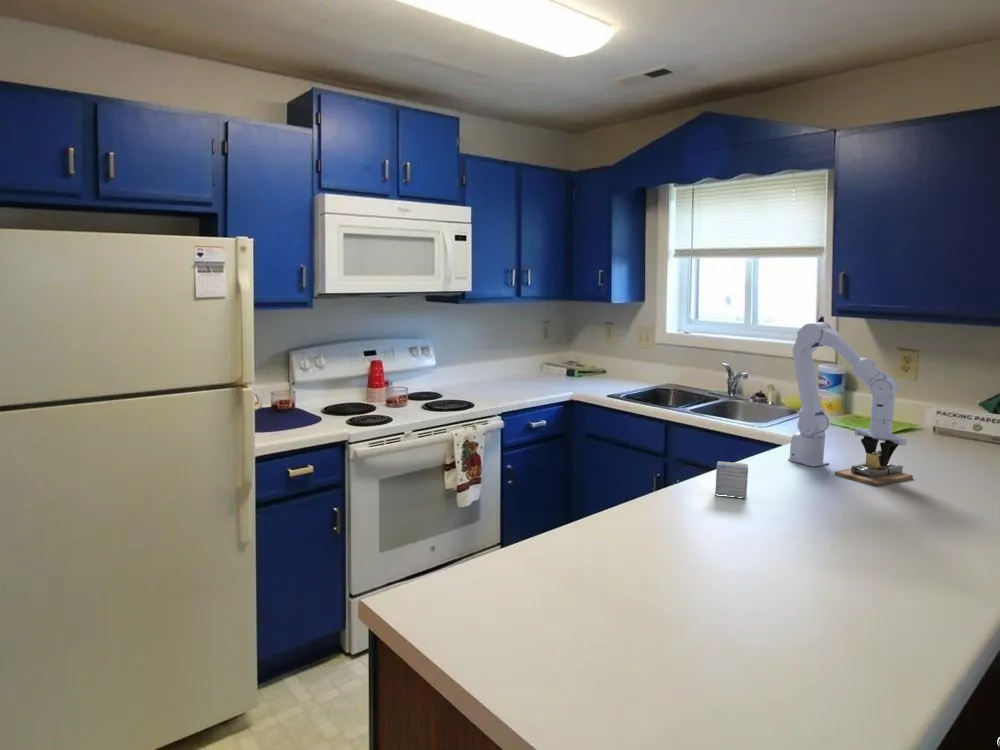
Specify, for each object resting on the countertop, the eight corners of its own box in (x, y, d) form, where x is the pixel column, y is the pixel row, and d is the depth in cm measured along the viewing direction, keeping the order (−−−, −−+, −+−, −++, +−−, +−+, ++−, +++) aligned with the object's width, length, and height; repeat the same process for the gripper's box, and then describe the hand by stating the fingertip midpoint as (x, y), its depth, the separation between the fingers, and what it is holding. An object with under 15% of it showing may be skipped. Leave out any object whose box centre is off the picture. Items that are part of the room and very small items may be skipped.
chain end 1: (851, 472, 201) (851, 466, 201) (865, 469, 204) (865, 463, 204) (873, 478, 195) (874, 472, 195) (887, 475, 198) (888, 469, 198)
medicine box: (746, 495, 183) (748, 463, 182) (746, 500, 179) (748, 467, 177) (715, 491, 185) (717, 460, 184) (714, 496, 181) (716, 464, 180)
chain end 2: (866, 469, 205) (866, 463, 204) (879, 466, 208) (880, 460, 207) (888, 475, 199) (889, 468, 198) (902, 472, 202) (902, 466, 201)
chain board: (834, 474, 202) (834, 471, 202) (870, 467, 211) (870, 464, 210) (876, 486, 191) (877, 483, 191) (912, 478, 199) (912, 475, 199)
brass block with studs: (865, 469, 201) (866, 451, 201) (875, 467, 204) (877, 449, 203) (876, 472, 198) (878, 453, 198) (886, 470, 201) (888, 451, 200)
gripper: (849, 415, 204) (846, 459, 205) (897, 424, 191) (893, 471, 193) (864, 413, 207) (860, 457, 209) (912, 422, 194) (908, 468, 196)
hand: (877, 464), depth 201 cm, fingers closed on brass block with studs, 3 cm apart
